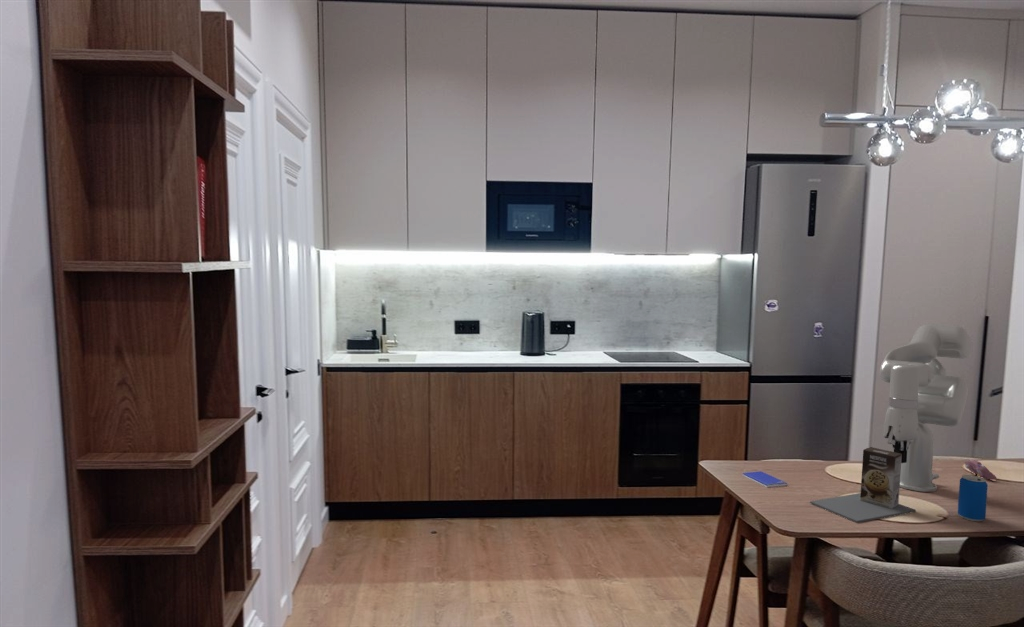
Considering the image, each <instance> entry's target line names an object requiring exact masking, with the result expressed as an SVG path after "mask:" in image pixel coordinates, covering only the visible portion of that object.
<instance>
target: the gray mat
mask: <svg viewBox="0 0 1024 627" xmlns="http://www.w3.org/2000/svg"><path fill="white" fill-rule="evenodd" d="M860 495H861V492H859V493H853V494H847V495H846V494H845V495H840V496H835V497H828V498H823V499H816V500H811V501H809V504H810V503H811V504H810V505H813V506H816V507H818V508H820V507H821V508H820V509H822V508H823V510H825V509H826V510H825V511H827V510H828V512H830V513H832V512H833V514H834V513H835V514H834V515H838V516H839V515H840V516H839V517H841V516H842V518H844V517H845V518H844V519H846V518H847V519H846V520H849V521H851V520H852V521H851V522H853V523H856V524H858V523H859V524H860V523H863V522H868V521H874V520H879V519H884V517H885V518H889V516H891V517H895V516H894V515H896V516H900V514H901V515H905V513H906V514H910V512H912V513H916V509H914V508H913V507H909V506H906V505H903V504H901V503H899V504H898V505H897V506H895V507H893V508H892V509H891V508H888V507H884V506H880V505H877V504H873V503H869V502H866V501H862V500H860Z"/></svg>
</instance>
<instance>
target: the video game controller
mask: <svg viewBox="0 0 1024 627" xmlns="http://www.w3.org/2000/svg"><path fill="white" fill-rule="evenodd" d="M964 465H965V468H966V469H968V470H969V471H970V473H972V472H973V473H975V474H977V476H980V477H984V479H986V480H988V479H996V480H997V476H996V475H995V474H994V473H993V472H991V471H990V470H989V469H988V468H987V467H986V466H985V465H984V464H982V462H980V461H978V460H973V459H970V460H969V459H968V460H967V461H965V462H964Z"/></svg>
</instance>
